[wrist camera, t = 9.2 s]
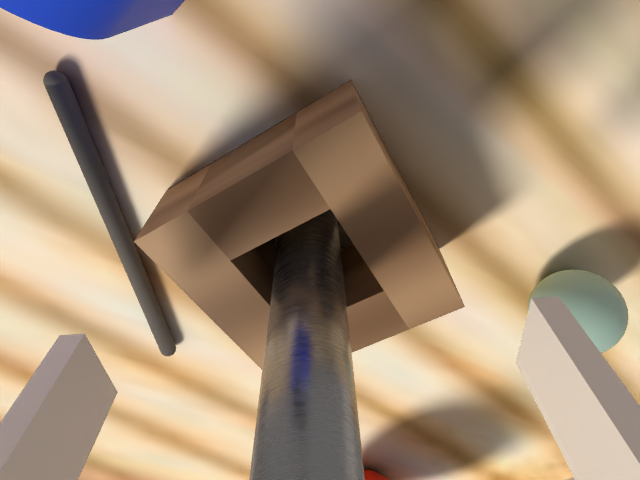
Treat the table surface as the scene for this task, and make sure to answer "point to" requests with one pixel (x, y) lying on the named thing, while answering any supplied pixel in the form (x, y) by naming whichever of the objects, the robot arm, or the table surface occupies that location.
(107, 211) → the thin dark grey rod
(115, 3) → the bracket
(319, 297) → the grey metal cylinder rod
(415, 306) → the square wooden ring
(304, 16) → the table surface
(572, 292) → the loose teal bead
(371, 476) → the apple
